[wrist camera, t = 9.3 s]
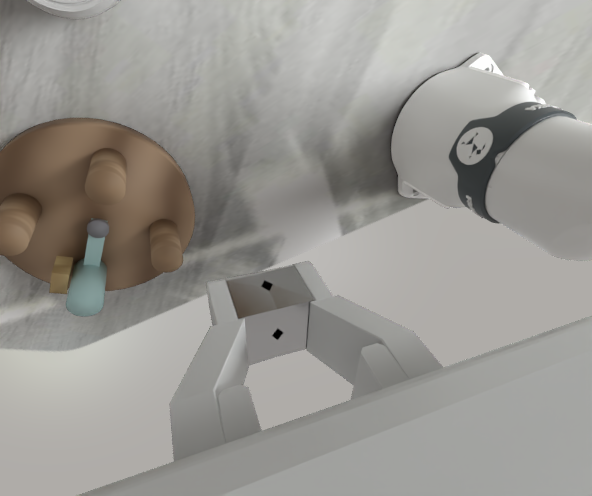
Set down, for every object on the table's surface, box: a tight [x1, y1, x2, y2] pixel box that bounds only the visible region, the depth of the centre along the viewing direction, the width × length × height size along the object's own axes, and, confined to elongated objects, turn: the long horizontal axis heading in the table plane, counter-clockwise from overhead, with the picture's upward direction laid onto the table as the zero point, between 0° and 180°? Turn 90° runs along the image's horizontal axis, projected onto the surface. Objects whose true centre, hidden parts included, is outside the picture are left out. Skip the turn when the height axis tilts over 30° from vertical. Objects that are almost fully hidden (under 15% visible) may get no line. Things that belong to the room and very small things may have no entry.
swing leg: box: [66, 218, 109, 316], centre depth 33 cm, size 8×3×5 cm, turn 155°
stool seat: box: [0, 118, 195, 294], centre depth 33 cm, size 18×18×8 cm
